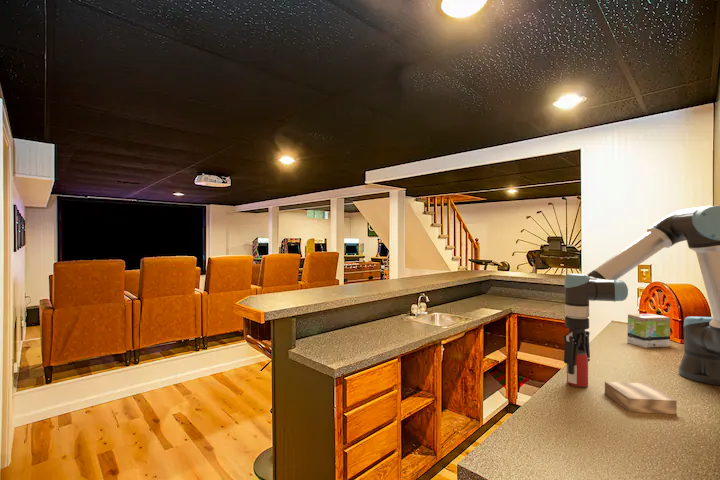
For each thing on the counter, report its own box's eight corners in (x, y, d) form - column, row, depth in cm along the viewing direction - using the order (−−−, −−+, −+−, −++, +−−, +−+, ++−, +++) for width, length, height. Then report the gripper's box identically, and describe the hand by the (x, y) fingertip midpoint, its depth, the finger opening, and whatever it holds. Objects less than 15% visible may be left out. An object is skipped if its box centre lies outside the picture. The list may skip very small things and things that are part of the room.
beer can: (591, 389, 123) (591, 354, 123) (570, 387, 124) (570, 353, 125) (583, 381, 130) (583, 349, 130) (564, 380, 131) (563, 348, 131)
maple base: (646, 395, 118) (646, 383, 118) (676, 414, 105) (676, 400, 105) (604, 393, 119) (604, 381, 119) (629, 411, 106) (629, 398, 107)
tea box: (646, 348, 170) (646, 318, 170) (626, 342, 180) (626, 313, 180) (671, 346, 173) (670, 316, 173) (650, 341, 183) (650, 312, 183)
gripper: (579, 312, 136) (579, 371, 135) (552, 318, 125) (552, 382, 125) (600, 315, 129) (601, 378, 129) (574, 321, 119) (574, 390, 119)
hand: (577, 380), depth 127 cm, fingers closed on beer can, 6 cm apart
